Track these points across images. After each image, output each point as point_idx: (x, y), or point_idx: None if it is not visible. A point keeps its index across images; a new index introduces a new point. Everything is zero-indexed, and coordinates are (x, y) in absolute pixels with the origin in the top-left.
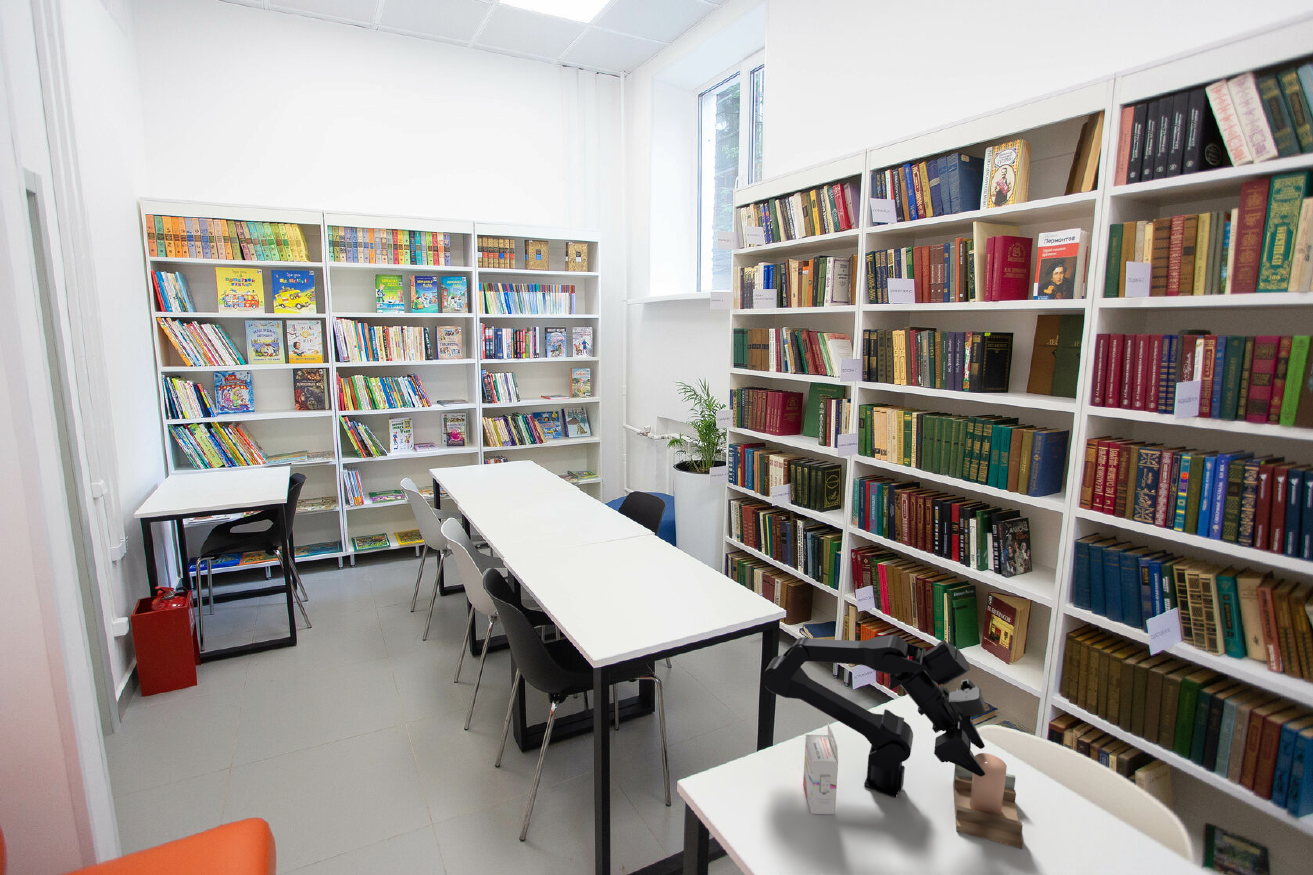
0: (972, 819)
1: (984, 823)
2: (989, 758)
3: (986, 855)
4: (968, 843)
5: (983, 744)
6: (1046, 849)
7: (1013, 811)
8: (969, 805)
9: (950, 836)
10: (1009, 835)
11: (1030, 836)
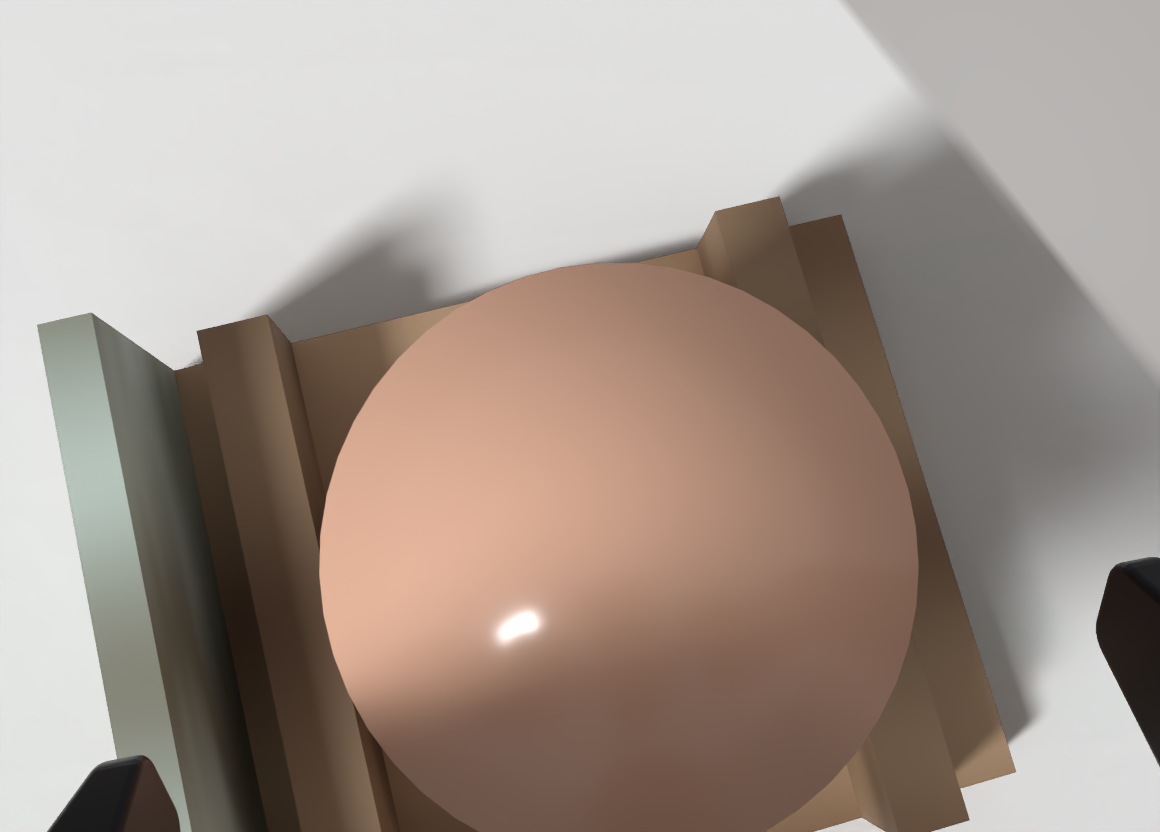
0: None
1: None
2: (494, 588)
3: (1108, 470)
4: (1072, 630)
5: (127, 792)
6: (698, 72)
7: None
8: None
9: (1096, 791)
10: (822, 322)
11: (618, 193)
